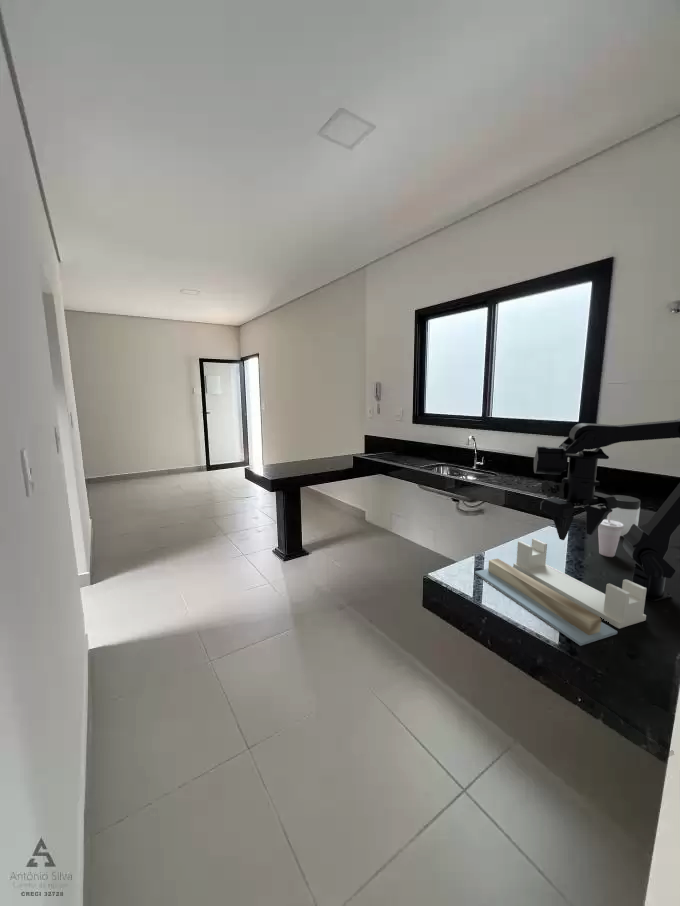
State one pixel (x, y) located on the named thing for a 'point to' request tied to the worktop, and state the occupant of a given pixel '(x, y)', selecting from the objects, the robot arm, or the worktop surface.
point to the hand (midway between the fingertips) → (575, 536)
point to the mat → (546, 612)
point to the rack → (584, 588)
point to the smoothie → (609, 536)
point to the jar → (626, 512)
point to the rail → (547, 597)
